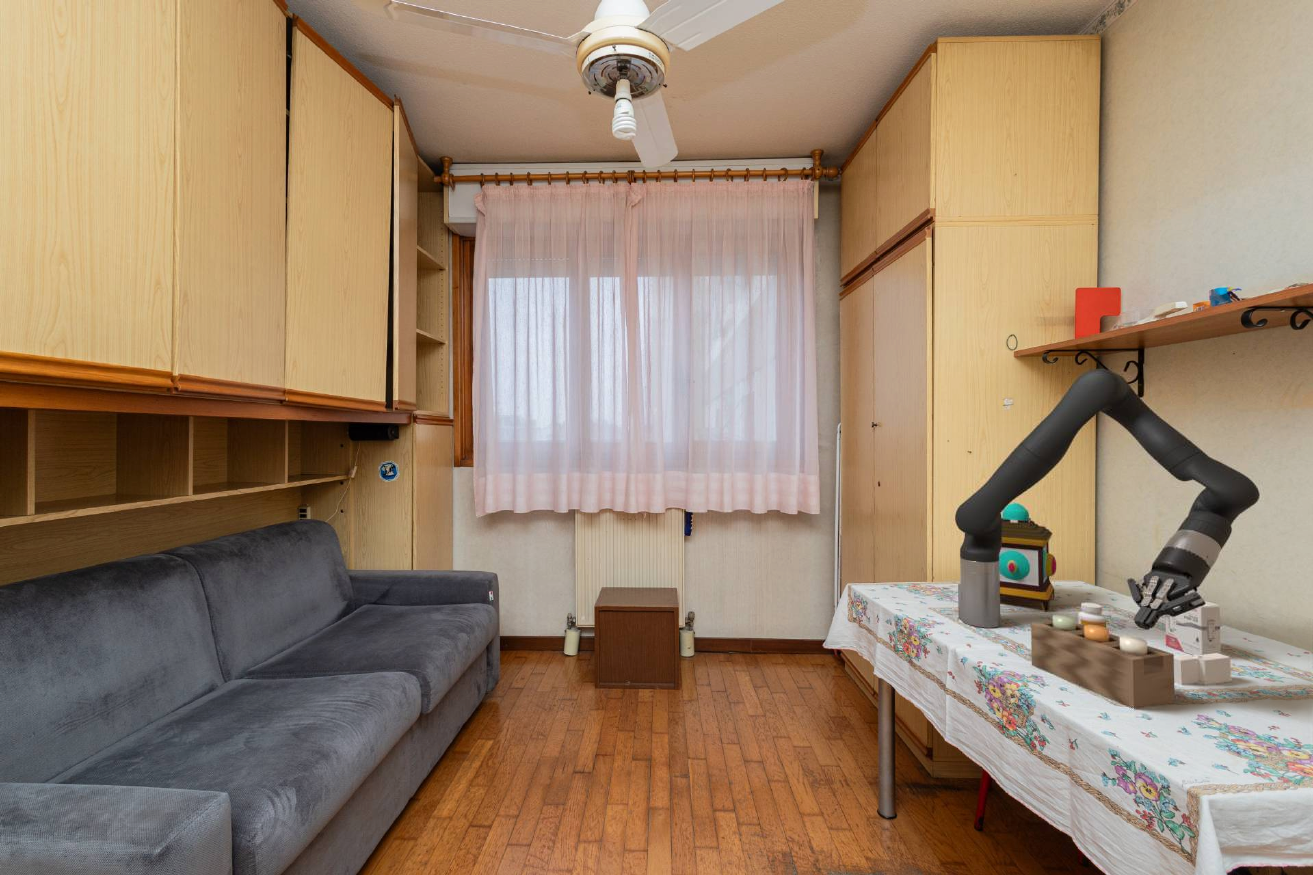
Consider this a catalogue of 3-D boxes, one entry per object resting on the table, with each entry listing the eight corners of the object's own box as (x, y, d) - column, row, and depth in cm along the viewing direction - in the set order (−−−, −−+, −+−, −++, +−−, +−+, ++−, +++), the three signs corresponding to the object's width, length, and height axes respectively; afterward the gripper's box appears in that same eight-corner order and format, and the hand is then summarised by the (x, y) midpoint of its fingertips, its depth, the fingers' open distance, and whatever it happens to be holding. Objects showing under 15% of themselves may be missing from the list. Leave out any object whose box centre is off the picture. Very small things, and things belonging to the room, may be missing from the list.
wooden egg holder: (1031, 664, 123) (1030, 623, 123) (1067, 660, 125) (1067, 619, 125) (1133, 708, 102) (1132, 659, 103) (1174, 702, 105) (1173, 654, 105)
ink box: (1164, 645, 134) (1162, 595, 134) (1182, 644, 134) (1181, 594, 134) (1202, 658, 125) (1201, 605, 125) (1222, 657, 125) (1221, 605, 125)
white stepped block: (1230, 677, 116) (1230, 649, 116) (1260, 700, 106) (1259, 670, 106) (1138, 665, 123) (1138, 639, 123) (1158, 686, 113) (1157, 658, 113)
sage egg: (1048, 629, 122) (1048, 615, 122) (1062, 627, 123) (1062, 614, 123) (1065, 635, 118) (1065, 621, 118) (1080, 633, 119) (1080, 619, 119)
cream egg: (1114, 652, 109) (1114, 637, 109) (1130, 650, 110) (1130, 635, 110) (1136, 660, 105) (1136, 644, 105) (1152, 658, 106) (1152, 642, 106)
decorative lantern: (973, 602, 170) (971, 503, 171) (986, 588, 186) (984, 498, 186) (1053, 614, 157) (1051, 508, 158) (1060, 599, 173) (1058, 501, 173)
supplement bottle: (1112, 650, 131) (1111, 608, 131) (1086, 648, 132) (1085, 607, 132) (1098, 642, 136) (1098, 602, 136) (1073, 640, 137) (1073, 601, 137)
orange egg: (1079, 640, 115) (1079, 625, 115) (1094, 638, 116) (1094, 623, 116) (1099, 647, 111) (1098, 632, 112) (1114, 645, 112) (1114, 630, 112)
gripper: (1139, 540, 117) (1095, 604, 113) (1216, 551, 104) (1169, 624, 101) (1159, 564, 118) (1116, 627, 115) (1238, 578, 105) (1191, 650, 102)
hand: (1141, 626), depth 108 cm, fingers closed
